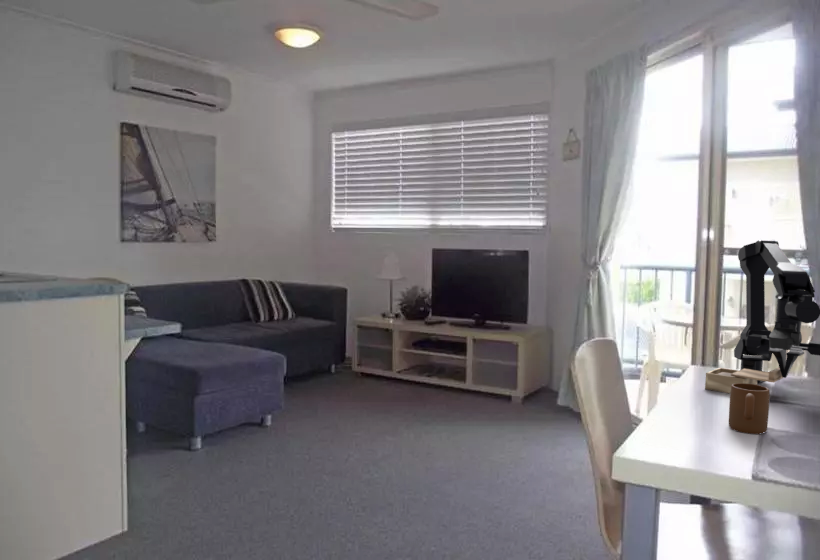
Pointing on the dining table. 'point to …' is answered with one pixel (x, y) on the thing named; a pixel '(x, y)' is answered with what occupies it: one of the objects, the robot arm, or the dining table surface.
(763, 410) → the mug
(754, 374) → the lid
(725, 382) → the wooden box
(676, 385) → the dining table surface
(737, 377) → the block
